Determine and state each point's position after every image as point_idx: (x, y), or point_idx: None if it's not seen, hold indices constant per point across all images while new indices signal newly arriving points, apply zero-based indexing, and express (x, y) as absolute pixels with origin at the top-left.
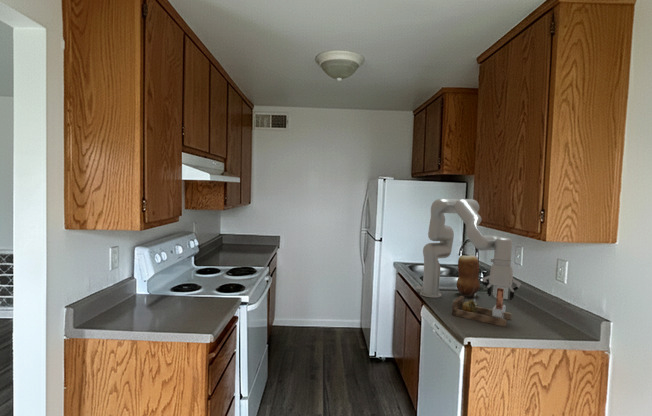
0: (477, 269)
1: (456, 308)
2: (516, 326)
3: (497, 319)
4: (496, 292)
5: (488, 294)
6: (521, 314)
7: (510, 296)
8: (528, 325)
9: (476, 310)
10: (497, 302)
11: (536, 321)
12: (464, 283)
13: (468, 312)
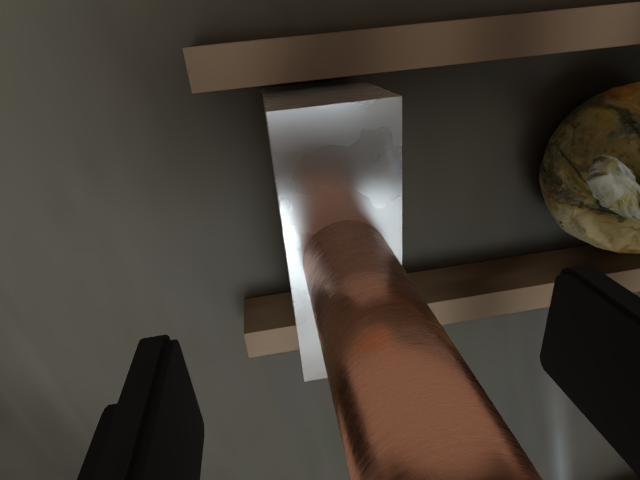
0: None
1: None
2: (124, 159)
3: (289, 38)
4: None
5: (609, 278)
6: (234, 474)
7: (144, 388)
8: (68, 280)
9: (551, 180)
10: (382, 253)
11: (83, 422)
12: None
13: (636, 3)
